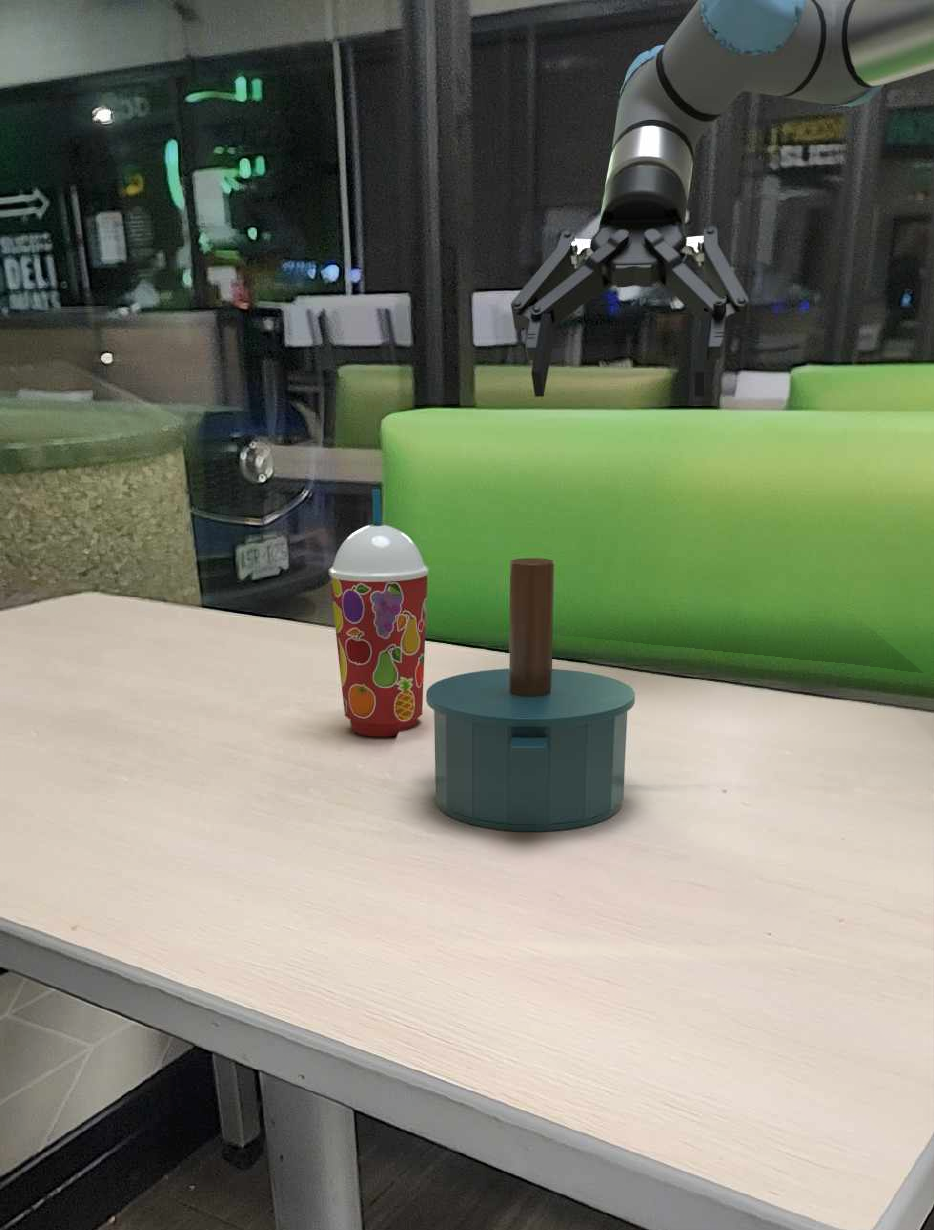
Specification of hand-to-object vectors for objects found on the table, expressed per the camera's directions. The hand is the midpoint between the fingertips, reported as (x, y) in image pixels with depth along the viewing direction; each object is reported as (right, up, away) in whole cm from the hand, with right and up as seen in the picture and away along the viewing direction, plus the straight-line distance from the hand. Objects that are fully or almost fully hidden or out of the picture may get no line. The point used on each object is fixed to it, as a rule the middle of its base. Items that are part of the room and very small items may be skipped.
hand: (617, 384), depth 106 cm
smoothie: (-20, -28, +5) cm, 35 cm away
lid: (-8, -29, -16) cm, 34 cm away
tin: (-8, -36, -13) cm, 39 cm away
